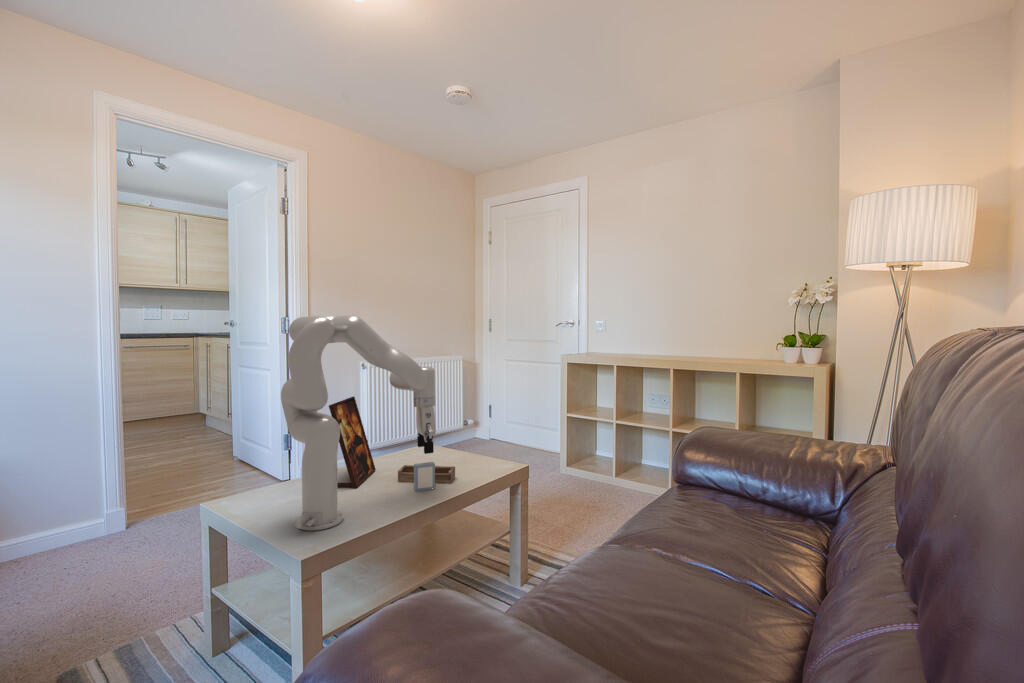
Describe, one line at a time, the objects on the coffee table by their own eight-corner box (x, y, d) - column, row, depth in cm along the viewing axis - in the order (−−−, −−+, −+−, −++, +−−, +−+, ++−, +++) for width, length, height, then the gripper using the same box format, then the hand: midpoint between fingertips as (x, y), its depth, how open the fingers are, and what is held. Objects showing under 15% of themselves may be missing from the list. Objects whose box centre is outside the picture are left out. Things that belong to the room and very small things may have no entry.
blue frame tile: (435, 488, 163) (435, 463, 163) (415, 491, 160) (415, 465, 160) (433, 486, 165) (433, 461, 165) (413, 489, 162) (413, 464, 162)
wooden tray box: (450, 483, 169) (450, 472, 168) (397, 481, 170) (397, 470, 170) (455, 477, 175) (455, 466, 175) (404, 476, 177) (404, 465, 177)
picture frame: (357, 488, 163) (356, 404, 163) (327, 488, 163) (327, 404, 163) (375, 471, 184) (375, 396, 184) (349, 470, 184) (349, 396, 184)
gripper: (441, 404, 156) (442, 454, 157) (428, 397, 172) (429, 443, 172) (419, 406, 153) (420, 457, 154) (408, 399, 169) (409, 445, 169)
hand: (425, 449), depth 163 cm, fingers open, 9 cm apart
